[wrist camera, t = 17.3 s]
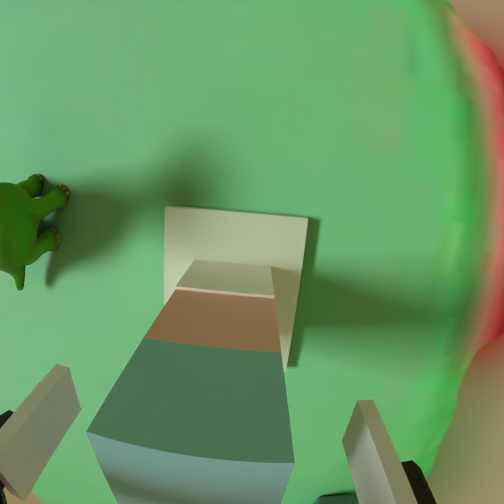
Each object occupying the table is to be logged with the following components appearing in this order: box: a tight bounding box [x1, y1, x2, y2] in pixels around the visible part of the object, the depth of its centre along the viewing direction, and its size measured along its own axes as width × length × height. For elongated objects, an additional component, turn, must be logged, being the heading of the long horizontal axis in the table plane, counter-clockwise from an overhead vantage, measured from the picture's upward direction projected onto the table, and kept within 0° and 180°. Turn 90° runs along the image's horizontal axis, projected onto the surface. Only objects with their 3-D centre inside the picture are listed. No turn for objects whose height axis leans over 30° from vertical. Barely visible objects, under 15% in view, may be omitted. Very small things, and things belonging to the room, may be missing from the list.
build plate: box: [164, 206, 308, 372], centre depth 23 cm, size 14×11×7 cm
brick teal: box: [86, 338, 294, 504], centre depth 11 cm, size 6×6×6 cm
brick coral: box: [144, 289, 281, 352], centre depth 16 cm, size 6×6×6 cm
